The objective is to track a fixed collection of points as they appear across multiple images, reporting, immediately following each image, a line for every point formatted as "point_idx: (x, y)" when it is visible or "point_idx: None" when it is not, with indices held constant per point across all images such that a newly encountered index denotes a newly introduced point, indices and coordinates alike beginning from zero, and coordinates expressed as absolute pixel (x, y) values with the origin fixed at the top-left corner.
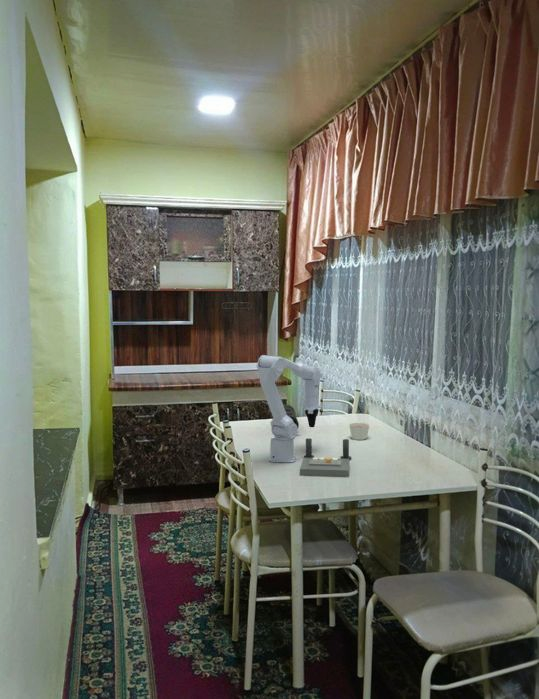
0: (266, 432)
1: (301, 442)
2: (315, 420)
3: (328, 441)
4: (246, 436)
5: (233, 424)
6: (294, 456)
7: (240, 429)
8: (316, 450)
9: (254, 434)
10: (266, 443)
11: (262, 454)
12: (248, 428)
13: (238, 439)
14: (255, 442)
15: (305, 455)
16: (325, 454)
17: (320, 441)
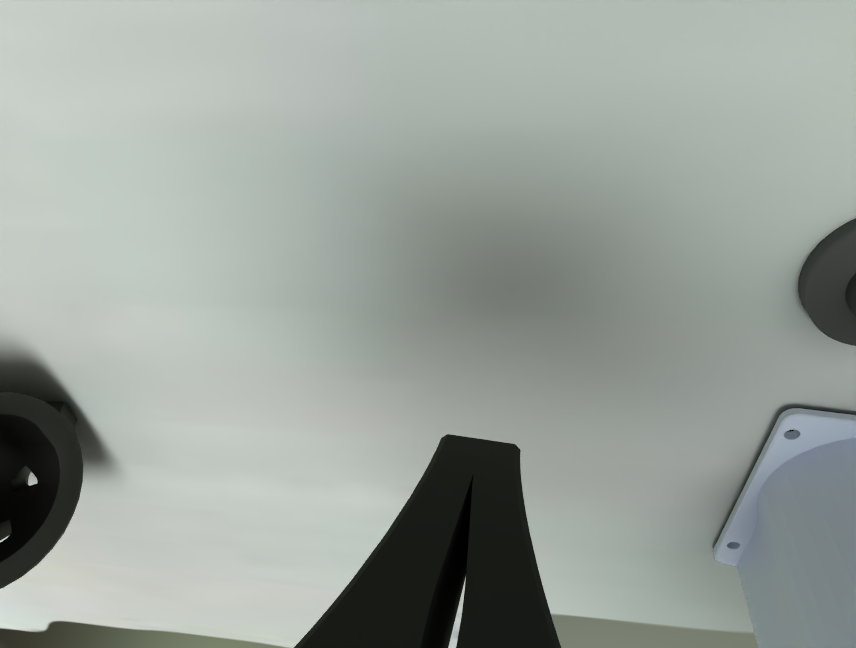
0: None
1: (215, 327)
2: (485, 579)
3: (50, 14)
4: (198, 607)
5: (5, 619)
6: (818, 426)
7: (74, 610)
8: (507, 177)
9: (137, 573)
10: (323, 546)
11: (628, 594)
12: (33, 581)
13: (274, 640)
14: (315, 589)
15: (830, 324)
16: (736, 35)
17: (98, 129)
